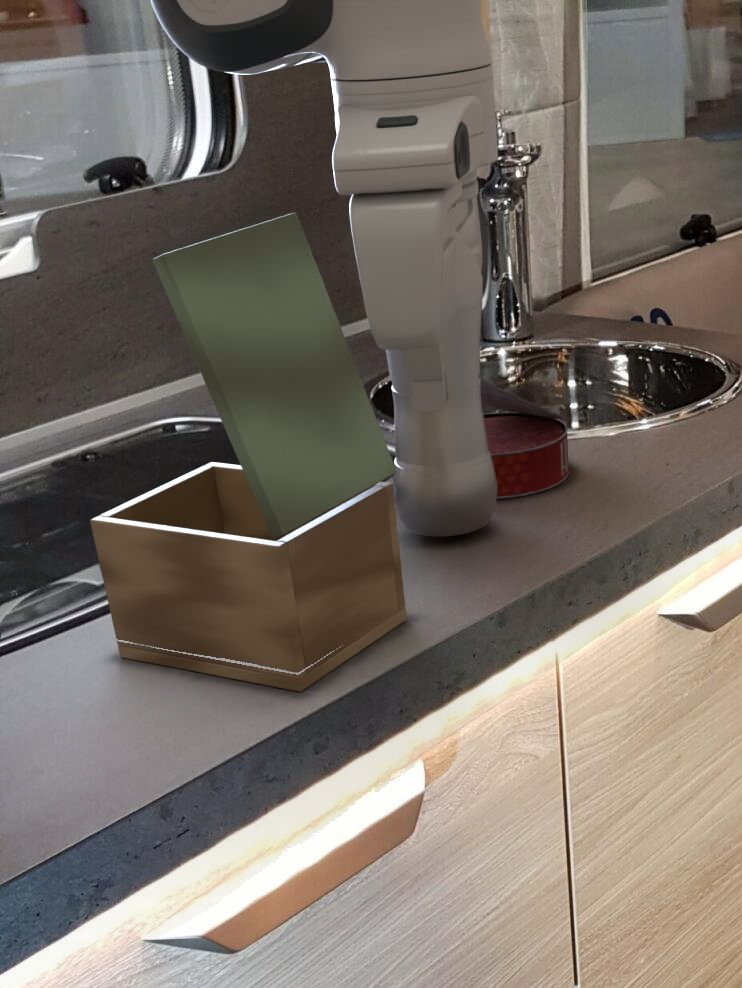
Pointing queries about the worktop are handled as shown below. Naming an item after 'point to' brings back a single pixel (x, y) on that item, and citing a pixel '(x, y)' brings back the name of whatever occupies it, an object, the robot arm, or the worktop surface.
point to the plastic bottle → (446, 425)
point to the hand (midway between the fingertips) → (441, 392)
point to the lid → (277, 369)
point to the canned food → (524, 444)
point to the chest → (248, 579)
